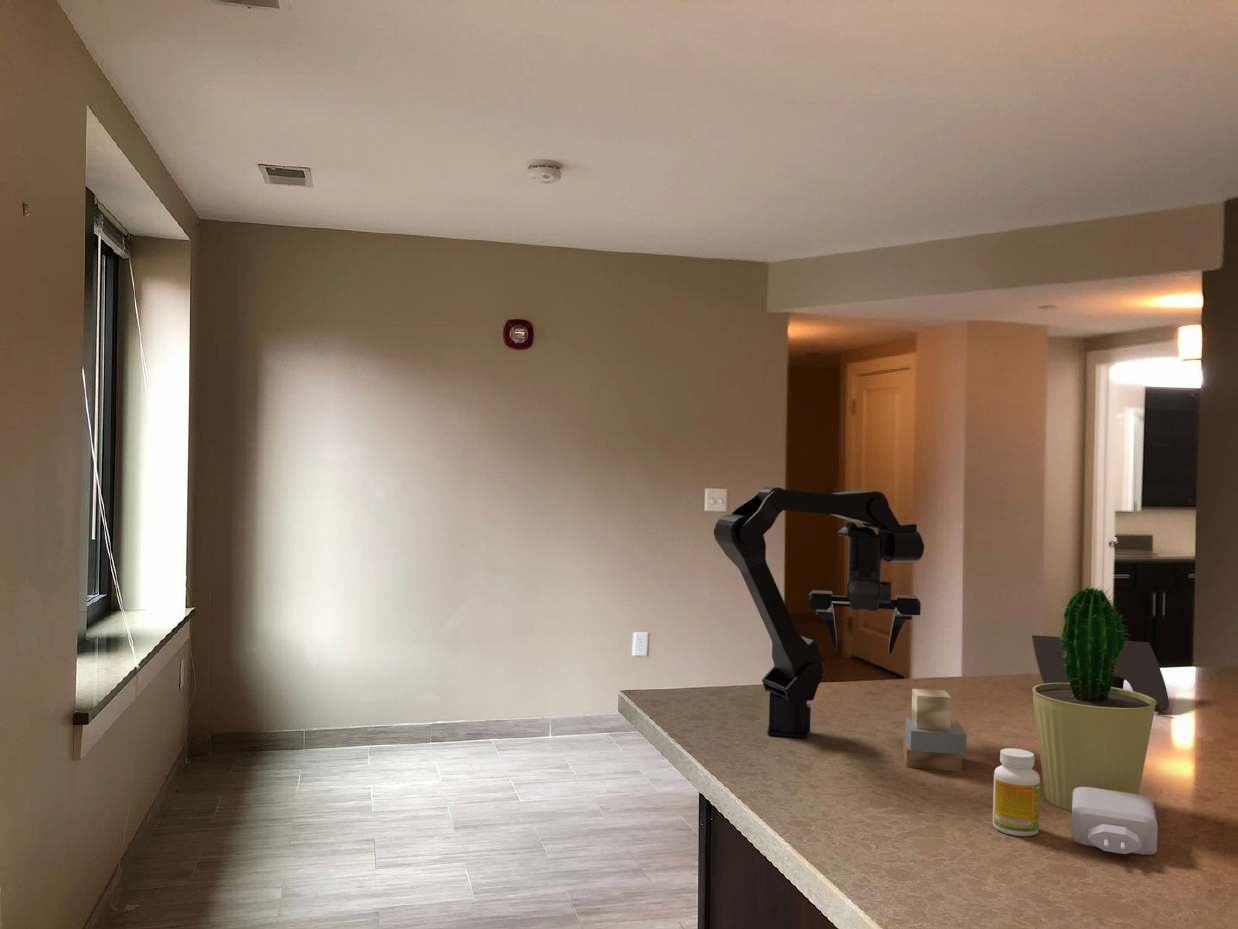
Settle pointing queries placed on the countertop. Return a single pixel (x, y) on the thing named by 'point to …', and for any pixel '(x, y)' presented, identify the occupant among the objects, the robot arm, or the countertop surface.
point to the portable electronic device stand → (1134, 669)
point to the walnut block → (931, 759)
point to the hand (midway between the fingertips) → (862, 652)
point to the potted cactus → (1091, 708)
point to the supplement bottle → (1016, 794)
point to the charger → (1114, 821)
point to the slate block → (936, 739)
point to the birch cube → (931, 709)
